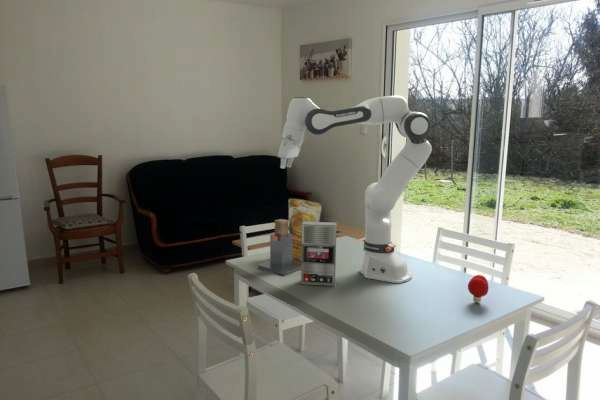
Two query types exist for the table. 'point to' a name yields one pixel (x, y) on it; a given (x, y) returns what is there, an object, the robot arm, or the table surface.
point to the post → (281, 227)
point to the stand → (280, 256)
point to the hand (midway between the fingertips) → (285, 167)
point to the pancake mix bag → (301, 221)
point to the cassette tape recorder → (318, 253)
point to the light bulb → (478, 287)
